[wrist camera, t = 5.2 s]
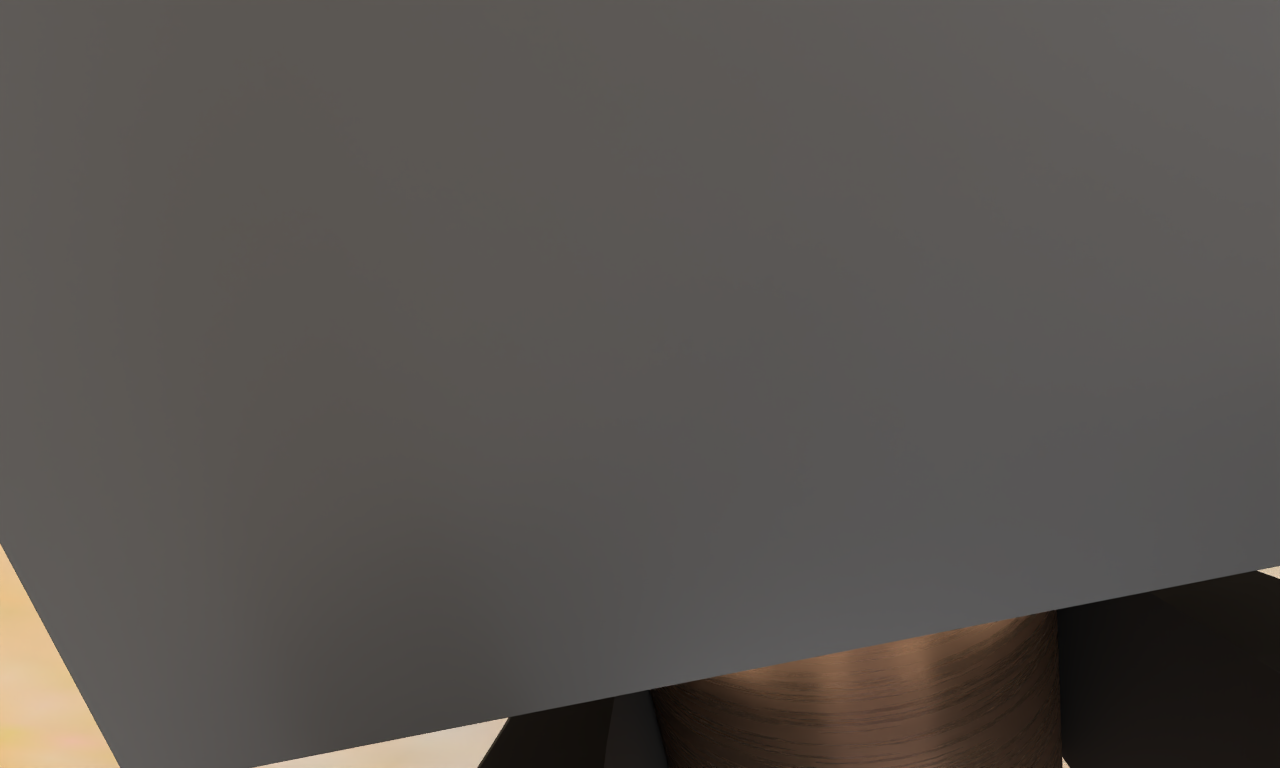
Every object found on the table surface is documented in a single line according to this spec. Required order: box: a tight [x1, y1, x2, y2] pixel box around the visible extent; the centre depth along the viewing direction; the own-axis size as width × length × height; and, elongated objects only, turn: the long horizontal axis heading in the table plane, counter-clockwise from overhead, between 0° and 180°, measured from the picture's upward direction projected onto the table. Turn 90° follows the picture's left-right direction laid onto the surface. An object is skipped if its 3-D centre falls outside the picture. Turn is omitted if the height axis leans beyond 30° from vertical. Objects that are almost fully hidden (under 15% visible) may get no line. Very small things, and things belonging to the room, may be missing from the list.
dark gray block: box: [0, 0, 1280, 768], centre depth 6 cm, size 9×5×6 cm, turn 101°
